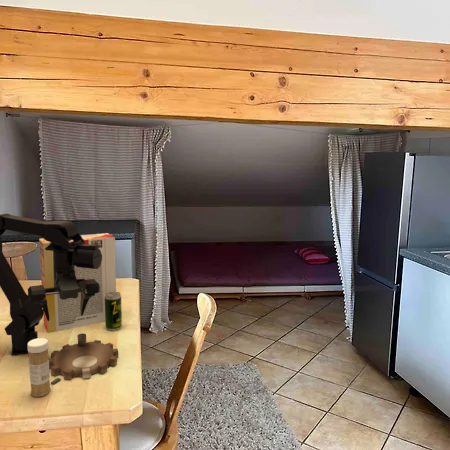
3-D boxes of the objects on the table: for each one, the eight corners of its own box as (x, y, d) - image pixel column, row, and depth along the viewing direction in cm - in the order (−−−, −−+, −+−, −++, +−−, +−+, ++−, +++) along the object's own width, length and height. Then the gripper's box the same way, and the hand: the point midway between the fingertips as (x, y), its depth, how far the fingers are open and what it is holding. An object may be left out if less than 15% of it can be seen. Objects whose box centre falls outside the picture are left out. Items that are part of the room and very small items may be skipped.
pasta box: (110, 312, 154) (108, 233, 149) (116, 319, 148) (114, 237, 142) (43, 324, 142) (39, 238, 137) (47, 332, 136) (43, 243, 130)
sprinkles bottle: (45, 385, 105) (43, 335, 103) (53, 392, 102) (51, 341, 100) (27, 392, 102) (24, 341, 100) (35, 400, 99) (32, 347, 97)
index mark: (57, 379, 108) (57, 377, 108) (60, 380, 108) (60, 378, 108) (50, 384, 106) (50, 382, 106) (54, 384, 106) (53, 383, 105)
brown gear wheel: (47, 384, 105) (46, 366, 104) (48, 352, 122) (47, 336, 121) (122, 371, 112) (122, 354, 111) (113, 342, 129) (113, 327, 128)
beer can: (102, 328, 140) (101, 294, 137) (113, 323, 144) (112, 290, 142) (113, 332, 137) (113, 297, 135) (125, 326, 142) (124, 293, 140)
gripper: (31, 277, 106) (33, 334, 109) (104, 269, 115) (105, 322, 118) (26, 266, 115) (28, 319, 118) (94, 260, 125) (95, 309, 127)
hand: (65, 317), depth 120 cm, fingers open, 9 cm apart
